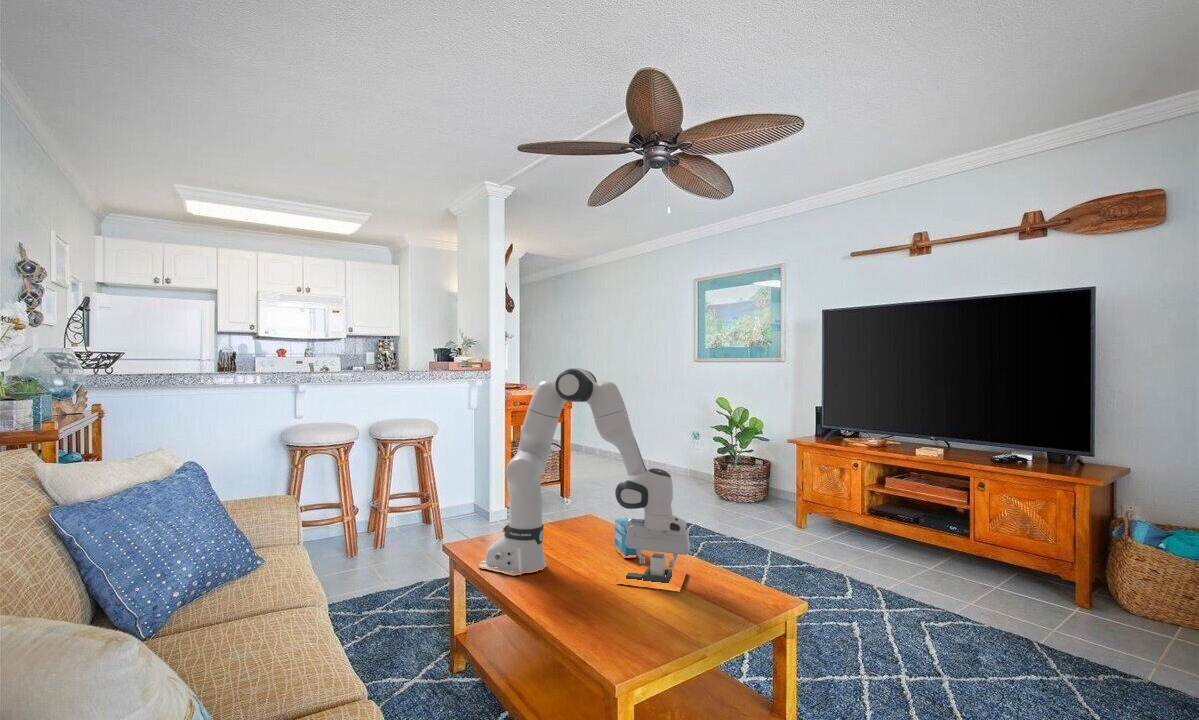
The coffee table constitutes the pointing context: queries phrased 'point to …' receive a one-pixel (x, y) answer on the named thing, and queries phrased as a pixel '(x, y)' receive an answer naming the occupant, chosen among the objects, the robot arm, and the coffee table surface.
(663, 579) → the board
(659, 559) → the plug
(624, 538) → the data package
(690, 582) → the coffee table surface
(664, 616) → the coffee table surface
